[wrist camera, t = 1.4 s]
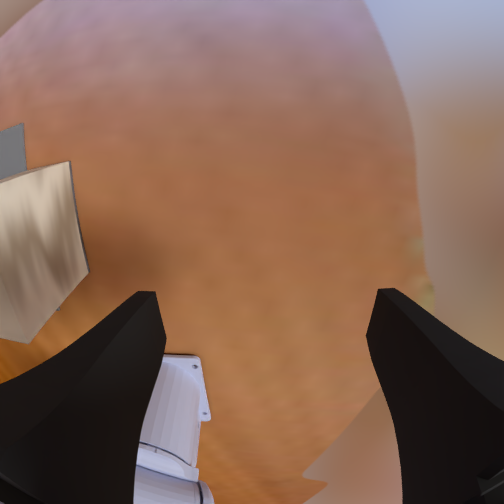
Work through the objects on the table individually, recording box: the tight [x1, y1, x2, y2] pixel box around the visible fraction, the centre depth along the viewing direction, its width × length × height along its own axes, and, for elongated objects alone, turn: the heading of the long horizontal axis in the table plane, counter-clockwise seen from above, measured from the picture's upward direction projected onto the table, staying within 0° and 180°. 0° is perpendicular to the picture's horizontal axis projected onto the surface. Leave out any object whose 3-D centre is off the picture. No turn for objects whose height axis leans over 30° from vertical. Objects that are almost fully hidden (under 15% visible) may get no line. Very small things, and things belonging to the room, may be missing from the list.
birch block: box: [0, 161, 90, 344], centre depth 15 cm, size 8×4×9 cm, turn 1°
